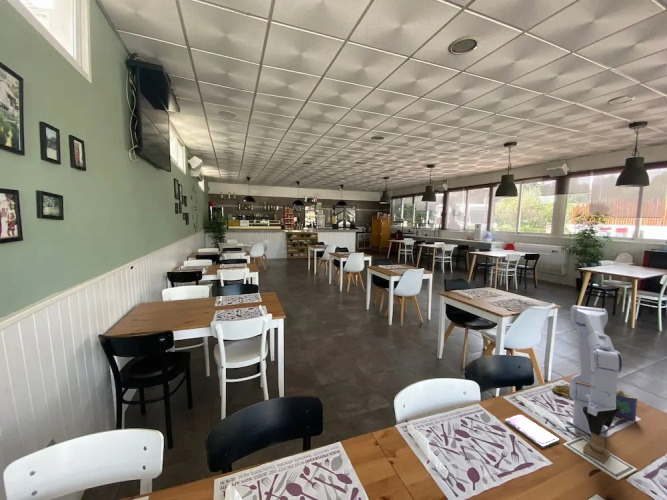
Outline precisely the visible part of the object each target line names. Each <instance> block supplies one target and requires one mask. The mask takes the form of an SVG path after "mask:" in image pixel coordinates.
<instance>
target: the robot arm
mask: <svg viewBox="0 0 667 500" xmlns="http://www.w3.org/2000/svg"><path fill="white" fill-rule="evenodd" d="M569 313H570V314H569V315H570V325H571V328H574V329H575V330H576V333H577V337H578V339H577V340H578V369H579V373H577V374H575V375H572V376H571V377H570V379H569V385H568V386H569V392H570V397H571V398H572V399H571V400H573V412H572V418H569V419H566V422H567V423H568V424H570V425H573V426H574V427H576V428H577V429H579V430H581V431H583V432H585V433H586V434H588V435H590V436H591V432H592V433H594V434H596V435H598V436H599V435H600V434H602V432H605V431H607V430H608V428H610V427H611V425H612V423H613V421H614V418H616V417H615V415H616V413H617V412H618V411H619V410H620V409H621V407H620V406H618V405H616V392H618V391H617V390H618V389H617V388H618V381H619V380H618V379H619V377H618V376H619V373H621V372H622V370H623V365H624V363H623V357H622V355H621V353H620V351H618V350H615V348H614V345H613V342H612V339H611V338H610V336H608V335H607V334H605V331H604V329H605V327H606V325H607V324H608V322H609V321H608V320H609V315H608V311H607V309H605V308H599V307H589V306H582V305H576V304H573V305H572V306H571V307H570V312H569Z"/></svg>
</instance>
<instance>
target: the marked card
mask: <svg viewBox="0 0 667 500" xmlns="http://www.w3.org/2000/svg"><path fill="white" fill-rule="evenodd" d="M589 441H590V440H589V439H587V438H585V437H584V436H579V437H576V438H574V439H572V440H568V441H567V442H564V443H563V444H562V445H563V446H564V447H565V448H567V449H568V450H570V451H571V452H573V453H574V454H576V455H577V456H579V457H580V458H582V459H584V460H585V461H587V462H589V463H590V464H592V465H594V466H595V468H598V469H599V470H600V471H602V472H604V473H605V474H606V475H609V476H610V477H611V478H613V479H615V480H616V481H620V480H621V479H624V478H625V477H627V476H630V475H631V474H632V473H633V474H634V473H635V472H636V471H638V468H636V467H635V466H633V465H631V464H629V463H628V462H626V461H624V460H622V459H621V458H620V457H618V456H616V455H614V454H613V453H611V452H610V457H609V458H608V460H607V461H606V462H605V463H604V464H603V463H602V462H600V461H598V460H596V459H594V458H592V457H591V456H589V455H587V454H585V453H583V447H584V446H585V445H586V444H587V443H588V442H589Z"/></svg>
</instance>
